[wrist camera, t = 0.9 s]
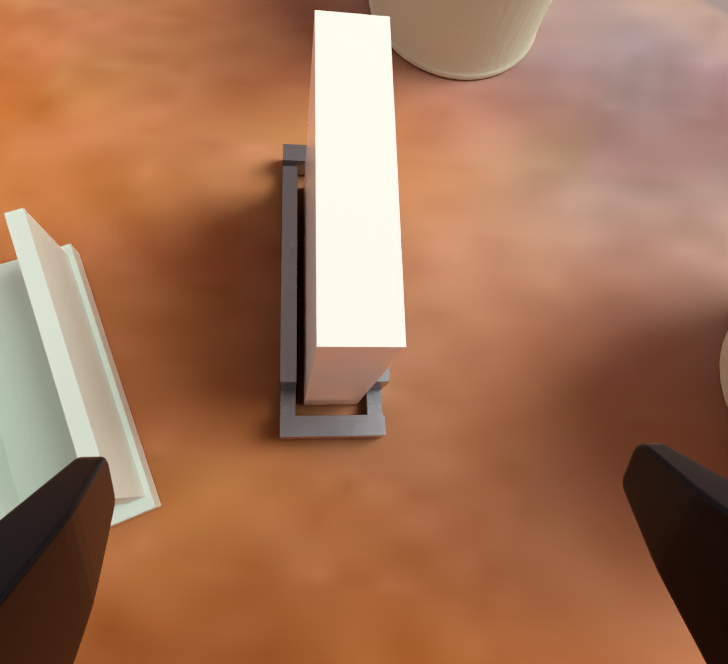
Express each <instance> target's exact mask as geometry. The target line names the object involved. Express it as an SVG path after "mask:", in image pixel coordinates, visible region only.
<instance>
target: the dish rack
mask: <svg viewBox="0 0 728 664" xmlns="http://www.w3.org/2000/svg"><path fill="white" fill-rule="evenodd" d="M4 215H5V218H6V221H7V225H8V228H9V231H10V235H11V238H12V241H13V245H14V248H15V251H16V255H17V258H18V259H16V260H13V261H10V262H6V263H3V264H0V519H2V518H3V517H4V516H5V515H7V514H8V513H9V512H10V511H12V510H13V509H14V508H15V507H16V506H18V505H19V504H20V503H21V502H23V501H24V500H25V499H26V498H28V497H29V496H30V495H31V494H32V493H34V492H35V491H36V490H37V489H39V488H40V487H41V486H42V485H43V484H45V483H46V482H47V481H48V480H50V479H51V478H52V477H53V476H55V475H56V474H57V473H58V472H59V471H61V470H62V469H63V468H64V467H66V466H67V465H68V464H69V463H71V462H72V461H73V460H74V459H76V458H78V457H96V456H101V457H104V458H106V460H107V462H108V464H109V469H110V474H111V479H112V484H113V489H114V494H115V506H114V512H113V517H112V521H111V526H110V527H113V526H115V525H117V524H120V523H122V522H125V521H127V520H129V519H132V518H134V517H137V516H139V515H141V514H144V513H146V512H149V511H151V510H154V509H156V508H158V507H161V503H160V500H159V497H158V494H157V491H156V488H155V485H154V482H153V479H152V476H151V472H150V469H149V466H148V463H147V460H146V457H145V454H144V451H143V448H142V445H141V442H140V439H139V436H138V433H137V429H136V426H135V423H134V420H133V417H132V414H131V411H130V408H129V405H128V402H127V399H126V396H125V393H124V390H123V387H122V383H121V380H120V377H119V374H118V371H117V368H116V365H115V362H114V359H113V356H112V353H111V350H110V347H109V344H108V341H107V337H106V334H105V331H104V328H103V325H102V322H101V319H100V316H99V313H98V310H97V307H96V304H95V301H94V298H93V295H92V291H91V288H90V285H89V282H88V279H87V276H86V273H85V270H84V267H83V264H82V261H81V258H80V255H79V253H78V252H77V251H76V249H75V248H74V247H73V246H72V245H71V244H67V245H64V246H59V245H58V244H57V243H56V242H55V241H54V240H53V239H52V238H51V237H50V236H49V235H48V234H47V233H46V231H45V230H44V229H43V228H42V227H41V226H40V225H39V224H38V223H37V222H36V221H35V220H34V219H33V218H32V217H31V216H30V215H29V213H28V212H27V211H26V210H25V209H24V208H21V209H18V210H14V211H10V212H7V213H4Z"/></svg>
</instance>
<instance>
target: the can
mask: <svg viewBox="0 0 728 664" xmlns="http://www.w3.org/2000/svg"><path fill="white" fill-rule="evenodd" d="M551 2H552V0H369V7H370V12H371V15H378V16H389V17H390V30H391V48H392V49H393V50H394V51H395V52H396V53H398V54H399V55H400V56H401V57H403V58H404V59H405V60H407V61H408V62H410V63H411V64H413V65H415V66H416V67H418V68H420V69H422V70H424V71H427V72H429V73H432V74H435V75H438V76H442V77H446V78H451V79H458V80H474V79H483V78H488V77H492V76H495V75H498V74H500V73H503V72H505V71H506V70H508V69H510V68H512V67H513V66H514V65H515V64H517V63H518V62H519V61H520V60H521V59H522V58H523V57H524V56H525V55H526V54H527V52H528V51H529V49H530V48H531V46H532V44H533V42H534V39H535V36H536V34H537V29H538V27H539V25H540V23H541V21H542V19H543V17H544V15H545V14H546V12H547V10H548V8H549V6H550V4H551Z"/></svg>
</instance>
